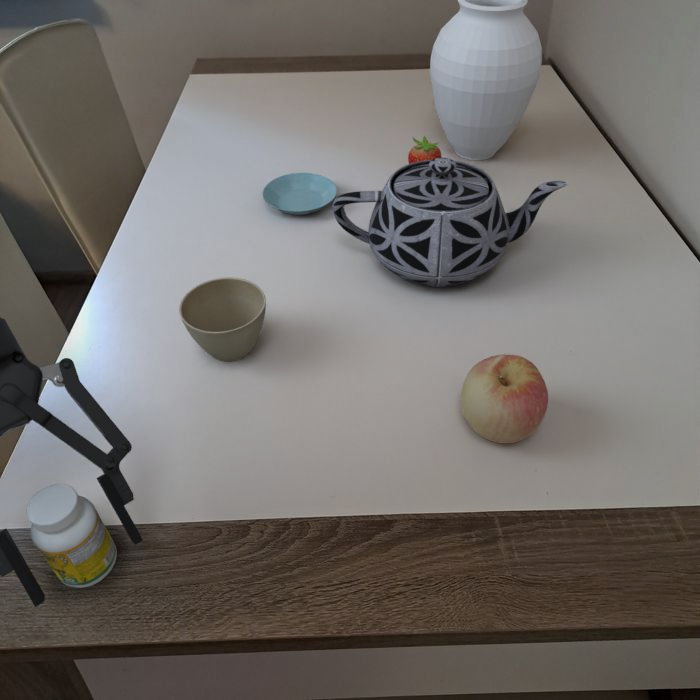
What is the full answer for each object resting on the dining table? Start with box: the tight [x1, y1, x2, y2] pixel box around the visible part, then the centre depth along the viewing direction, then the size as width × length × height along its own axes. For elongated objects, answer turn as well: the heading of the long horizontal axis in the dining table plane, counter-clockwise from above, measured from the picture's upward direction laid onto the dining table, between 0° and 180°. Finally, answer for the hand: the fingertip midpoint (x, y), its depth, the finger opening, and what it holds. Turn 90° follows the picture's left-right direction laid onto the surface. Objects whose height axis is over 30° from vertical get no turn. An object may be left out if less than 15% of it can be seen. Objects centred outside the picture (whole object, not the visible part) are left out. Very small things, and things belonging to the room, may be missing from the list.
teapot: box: [332, 157, 569, 288], centre depth 87 cm, size 19×31×15 cm, turn 89°
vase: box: [429, 0, 543, 161], centre depth 107 cm, size 18×18×25 cm
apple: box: [460, 354, 549, 444], centre depth 67 cm, size 9×9×8 cm
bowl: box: [178, 276, 267, 362], centre depth 77 cm, size 10×10×7 cm
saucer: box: [262, 172, 338, 215], centre depth 103 cm, size 12×12×2 cm
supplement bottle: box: [26, 483, 118, 589], centre depth 56 cm, size 5×5×10 cm
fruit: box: [407, 135, 442, 164], centre depth 105 cm, size 5×5×8 cm
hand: (90, 569), depth 55 cm, fingers open, 8 cm apart
